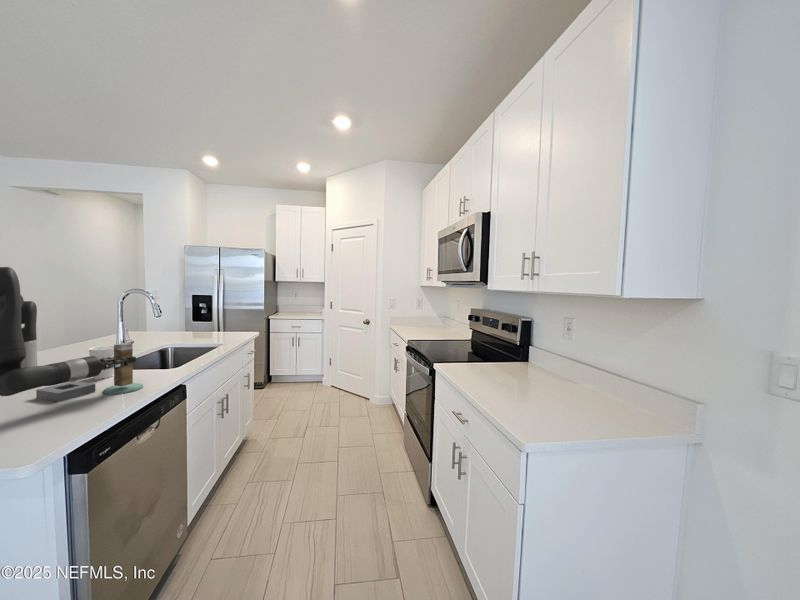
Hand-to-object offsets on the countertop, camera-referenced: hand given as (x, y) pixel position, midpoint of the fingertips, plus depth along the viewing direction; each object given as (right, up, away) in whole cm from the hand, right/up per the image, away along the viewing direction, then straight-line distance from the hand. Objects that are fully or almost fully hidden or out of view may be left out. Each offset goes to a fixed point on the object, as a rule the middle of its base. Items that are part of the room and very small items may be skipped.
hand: (130, 358), depth 130 cm
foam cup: (-22, -10, +13) cm, 28 cm away
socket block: (-16, -12, -10) cm, 22 cm away
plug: (-1, -10, -2) cm, 10 cm away
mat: (-1, -12, -2) cm, 12 cm away
